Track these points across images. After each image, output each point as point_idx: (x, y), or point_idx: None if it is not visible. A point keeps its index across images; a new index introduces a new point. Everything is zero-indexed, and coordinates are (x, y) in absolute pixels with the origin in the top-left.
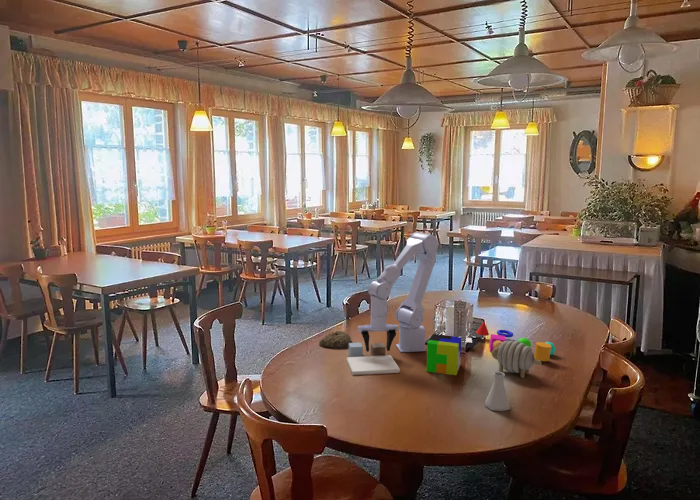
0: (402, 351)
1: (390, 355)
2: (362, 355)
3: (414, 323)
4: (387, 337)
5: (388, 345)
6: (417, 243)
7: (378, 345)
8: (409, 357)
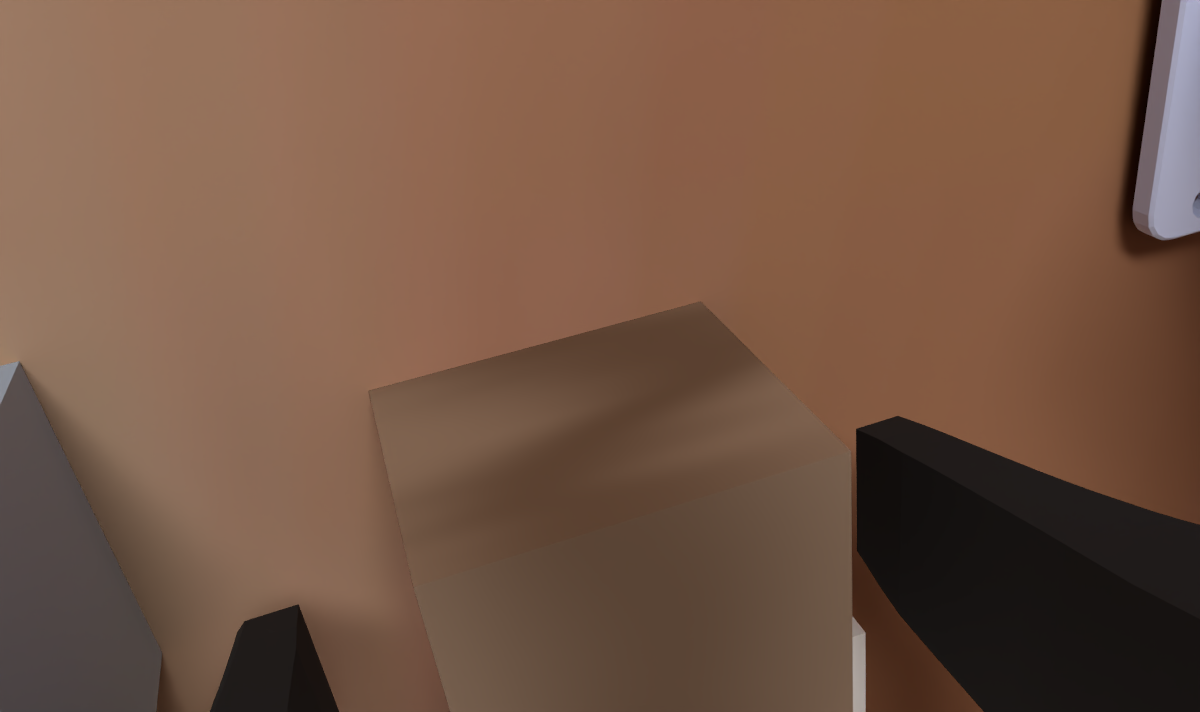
0: (1174, 237)
1: (854, 647)
2: (152, 690)
3: None
4: (1139, 679)
5: (962, 685)
6: None
7: (678, 685)
8: (1170, 458)
